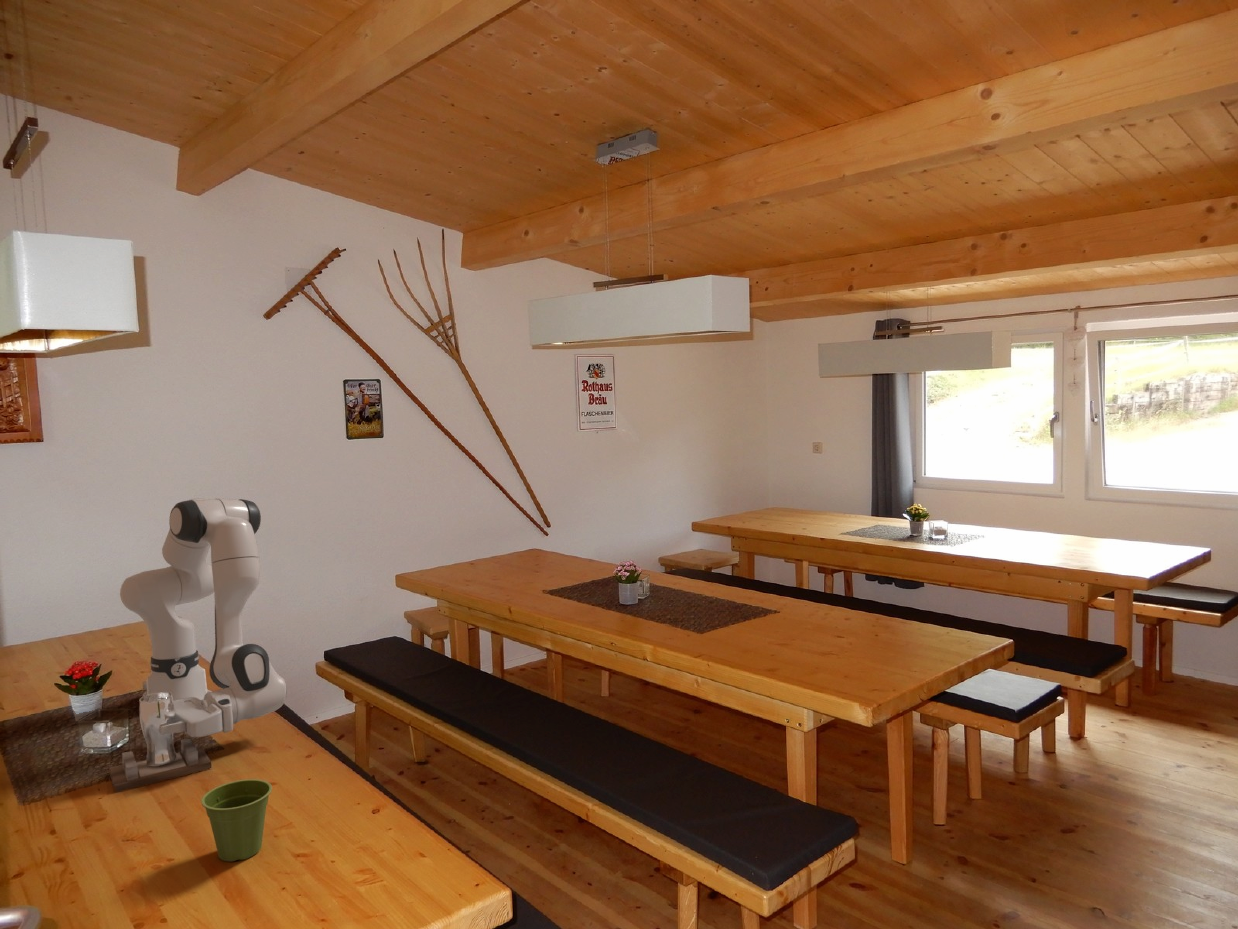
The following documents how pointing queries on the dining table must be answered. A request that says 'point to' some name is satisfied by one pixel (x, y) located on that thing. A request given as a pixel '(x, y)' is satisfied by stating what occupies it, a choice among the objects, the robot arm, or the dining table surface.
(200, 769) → the rail board
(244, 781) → the plant pot
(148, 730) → the beer glass
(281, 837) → the dining table surface
